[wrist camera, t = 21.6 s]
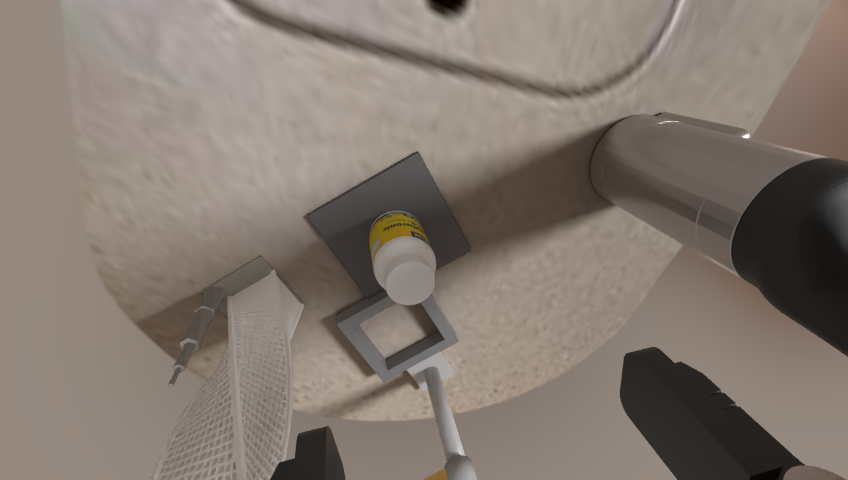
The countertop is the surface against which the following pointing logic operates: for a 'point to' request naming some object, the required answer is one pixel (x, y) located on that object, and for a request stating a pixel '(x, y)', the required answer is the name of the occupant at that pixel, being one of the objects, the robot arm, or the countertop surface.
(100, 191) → the countertop surface
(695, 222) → the robot arm
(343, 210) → the mat
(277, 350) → the skyscraper
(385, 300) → the socket
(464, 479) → the yellow lever
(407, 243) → the supplement bottle
